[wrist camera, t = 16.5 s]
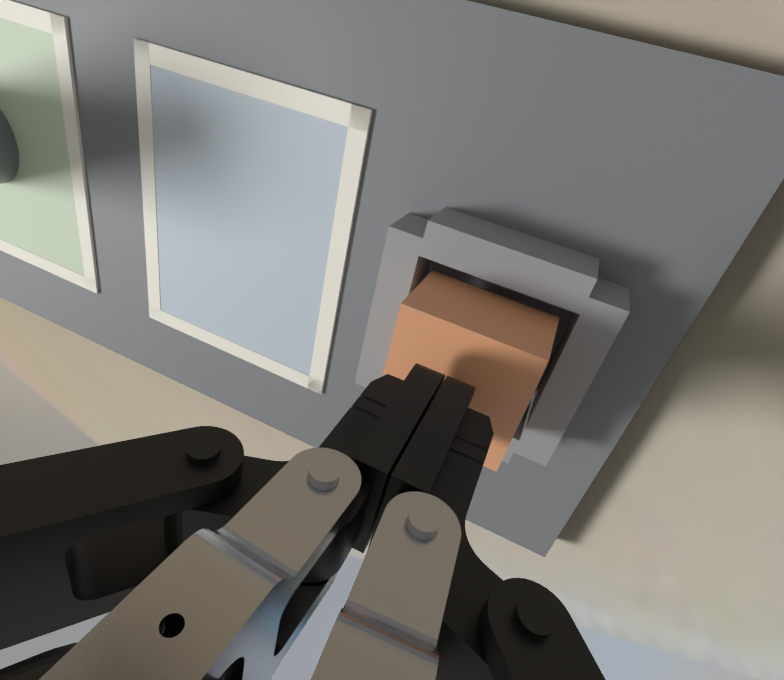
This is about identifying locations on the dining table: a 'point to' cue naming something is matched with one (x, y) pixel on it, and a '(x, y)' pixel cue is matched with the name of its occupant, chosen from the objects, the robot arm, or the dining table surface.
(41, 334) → the dining table surface
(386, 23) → the picture board
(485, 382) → the button
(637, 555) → the dining table surface
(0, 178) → the marker
